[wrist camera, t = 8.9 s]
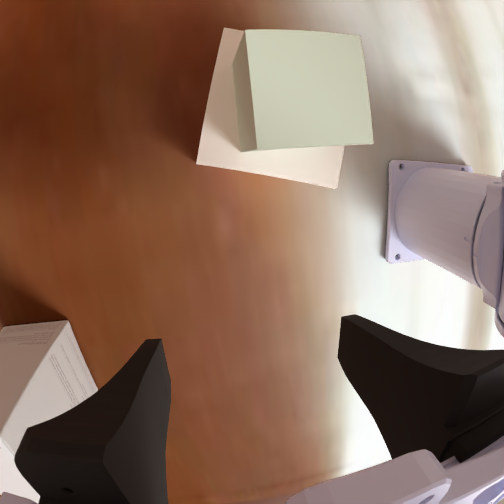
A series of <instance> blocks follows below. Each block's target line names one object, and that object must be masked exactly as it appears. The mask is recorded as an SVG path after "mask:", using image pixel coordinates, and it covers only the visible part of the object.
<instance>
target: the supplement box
mask: <svg viewBox="0 0 504 504" xmlns="http://www.w3.org/2000/svg"><path fill="white" fill-rule="evenodd" d="M97 391H98V389H97V387H96V385H95V383H94V380H93V378H92V376H91V374H90V372H89V369H88V367H87V365H86V363H85V360H84V358H83V356H82V353H81V351H80V349H79V346H78V344H77V341H76V339H75V336H74V334H73V331H72V329H71V326H70V323H69V321H68V320H64V321H54V322H44V323H34V324H24V325H13V326H5V327H3V328H2V329H1V331H0V495H2V492H7V493H11V494H14V495H17V496H21V497H24V498H27V499H30V500H32V501H34V502H36V503H37V504H38V503H39V499H40V495H39V494H38V493H37V492H36V491H35V490H34V489H33V488H32V486H31V485H30V484H29V483H28V482H27V481H26V480H25V478H24V477H23V476H22V475H21V473H20V472H19V470H18V469H17V467H16V465H15V462H14V457H15V454H16V451H17V449H18V447H19V445H20V442H21V440H22V438H23V436H24V433H25V431H26V429H27V428H28V427H31V426H34V425H37V424H39V423H42V422H45V421H47V420H50V419H52V418H54V417H56V416H59V415H61V414H63V413H65V412H66V411H68V410H70V409H72V408H74V407H75V406H77V405H78V404H80V403H81V402H83V401H84V400H86V399H87V398H89V397H90V396H92V395H93V394H94V393H96V392H97Z"/></svg>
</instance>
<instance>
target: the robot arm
mask: <svg viewBox="0 0 504 504" xmlns="http://www.w3.org/2000/svg"><path fill="white" fill-rule="evenodd" d="M400 164H401V166H402V168H401V169H399V165H400ZM461 169H462V171H461ZM397 254H398V256H397V258H395V256H396V255H397ZM385 259H386V261H387V262H389V263H400V262H407V261H414V260H421V259H426V260H428V261H430V262H432V263H434V264H436V265H438V266H440V267H442V268H444V269H446V270H447V271H449V272H451V273H453V274H455V275H457V276H459V277H460V278H462V279H464V280H466V281H468V282H470V283H471V284H473V285H475V286H477V287H479V288H480V289H482V290H483V295H484V299H483V301H484V302H485V303H486V304H488V305H490V306H491V307H493V308H495V309H496V310H495V324H496V327H497V329H498V331H499V332H500V334H501V335H502V336H503V337H504V170H503V171H502V173H501V177H496V176H490V175H484V174H478V173H473V169H472V167H471V166H467V165H458V164H447V163H436V162H423V161H408V160H392V161H390V163H389V194H388V223H387V240H386V254H385ZM338 359H339V362H340V364H341V366H342V369H343V371H344V373H345V375H346V377H347V378H348V380H349V381H350V383H351V384H352V386H353V387H354V389H355V390H356V392H357V393H358V395H359V396H360V398H361V399H362V401H363V402H364V404H365V405H366V407H367V408H368V410H369V411H370V413H371V415H372V416H373V418H374V420H375V422H376V424H377V426H378V428H379V430H380V432H381V434H382V436H383V439H384V441H385V443H386V445H387V448H388V450H389V452H390V455H391V458H392V460H389V461H387V462H384V463H381V464H379V465H376V466H373V467H370V468H367V469H364V470H361V471H358V472H355V473H352V474H348V475H345V476H342V477H338V478H335V479H331V480H328V481H324V482H321V483H319V484H316V485H313V486H310V487H308V488H305V489H303V490H301V491H300V492H298V493H297V494H295V495H293V496H292V497H290V498H289V499H288V500H287V501H286V503H285V504H497V503H498V502H499V501H500V500H502V499H503V498H504V350H466V349H457V348H451V347H445V346H440V345H435V344H431V343H428V342H424V341H421V340H417V339H414V338H412V337H409V336H406V335H403V334H401V333H398V332H396V331H393V330H391V329H389V328H386V327H384V326H382V325H380V324H377V323H375V322H373V321H370V320H368V319H366V318H363V317H361V316H358V315H355V314H354V315H349V316H343V317H341V328H340V339H339V348H338ZM170 403H171V379H170V375H169V371H168V367H167V362H166V358H165V353H164V349H163V344H162V339H148V340H145V342H144V343H143V344H142V345H141V346H140V347H139V349H138V350H137V351H136V352H135V353H134V355H133V356H132V357H131V358H130V359H129V361H128V362H127V363H126V364H125V365H124V366H123V367H122V368H121V369H120V371H119V372H118V373H117V374H116V375H115V376H114V377H113V378H112V379H111V380H110V381H109V382H108V383H106V384H105V385H104V386H103V387H102V388H101V389H99V390H98V391H97V392H96V393H94V394H93V395H92V396H90V397H89V398H87V399H86V400H84V401H83V402H81V403H80V404H78V405H77V406H75V407H74V408H72V409H70V410H68V411H66V412H65V413H63V414H61V415H59V416H56V417H54V418H52V419H50V420H47V421H45V422H42V423H39V424H37V425H34V426H31V427H28V428H27V429H26V431H25V433H24V436H23V438H22V440H21V442H20V445H19V447H18V449H17V451H16V454H15V457H14V462H15V465H16V467H17V469H18V470H19V472H20V473H21V475H22V476H23V477H24V478H25V480H26V481H27V482H28V483H29V484H30V485H31V486H32V488H33V489H34V490H35V491H36V492H37V493H38V494H39V495H40V499H39V503H38V504H168V497H167V483H166V461H165V450H166V438H167V429H168V421H169V412H170ZM0 504H37V503H36V502H34V501H32V500H30V499H27V498H24V497H21V496H17V495H14V494H11V493H7V492H2V495H1V498H0Z"/></svg>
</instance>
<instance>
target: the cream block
mask: <svg viewBox="0 0 504 504" xmlns="http://www.w3.org/2000/svg"><path fill="white" fill-rule="evenodd" d="M243 34H244V31H241V30H236V29H230V28H224V30H223V34H222V38H221V42H220V46H219V51H218V55H217V59H216V64H215V68H214V73H213V78H212V82H211V87H210V92H209V97H208V102H207V107H206V112H205V117H204V122H203V128H202V133H201V139H200V144H199V150H198V156H197V162H196V164H199V165H206V166H213V167H220V168H226V169H233V170H239V171H245V172H251V173H256V174H262V175H268V176H273V177H279V178H284V179H289V180H294V181H299V182H304V183H309V184H314V185H319V186H323V187H328V188H333V189H337V185H338V180H339V175H340V170H341V164H342V159H343V153H344V148H345V146H329V147H306V148H289V149H274V150H262V151H250V152H241V150H240V140H239V130H238V120H237V109H236V99H235V89H234V79H233V69H232V63H233V60H234V57H235V55H236V52H237V49H238V47H239V44H240V41H241V39H242V36H243Z"/></svg>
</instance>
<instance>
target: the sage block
mask: <svg viewBox="0 0 504 504" xmlns="http://www.w3.org/2000/svg"><path fill="white" fill-rule="evenodd" d="M232 69H233V79H234V89H235V99H236V109H237V120H238V130H239V140H240V150H241V152H250V151H262V150H274V149H289V148H306V147H329V146H346V145H368V144H374V143H373V130H372V119H371V109H370V100H369V92H368V84H367V76H366V69H365V63H364V56H363V50H362V44H361V39H360V36H357V35H349V34H340V33H331V32H319V31H304V30H274V29H259V30H245V31H244V34H243V36H242V39H241V41H240V44H239V47H238V49H237V52H236V55H235V57H234V60H233V63H232Z"/></svg>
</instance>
